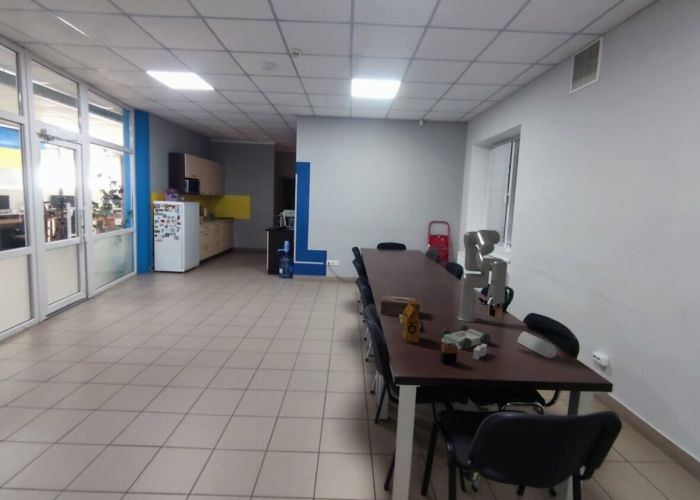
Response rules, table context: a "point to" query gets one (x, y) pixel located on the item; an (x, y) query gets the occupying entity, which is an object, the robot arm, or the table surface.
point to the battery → (448, 353)
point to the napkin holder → (479, 351)
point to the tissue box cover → (396, 305)
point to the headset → (509, 299)
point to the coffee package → (410, 323)
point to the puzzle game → (402, 319)
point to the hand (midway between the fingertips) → (494, 314)
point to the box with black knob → (496, 312)
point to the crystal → (537, 345)
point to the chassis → (465, 337)
